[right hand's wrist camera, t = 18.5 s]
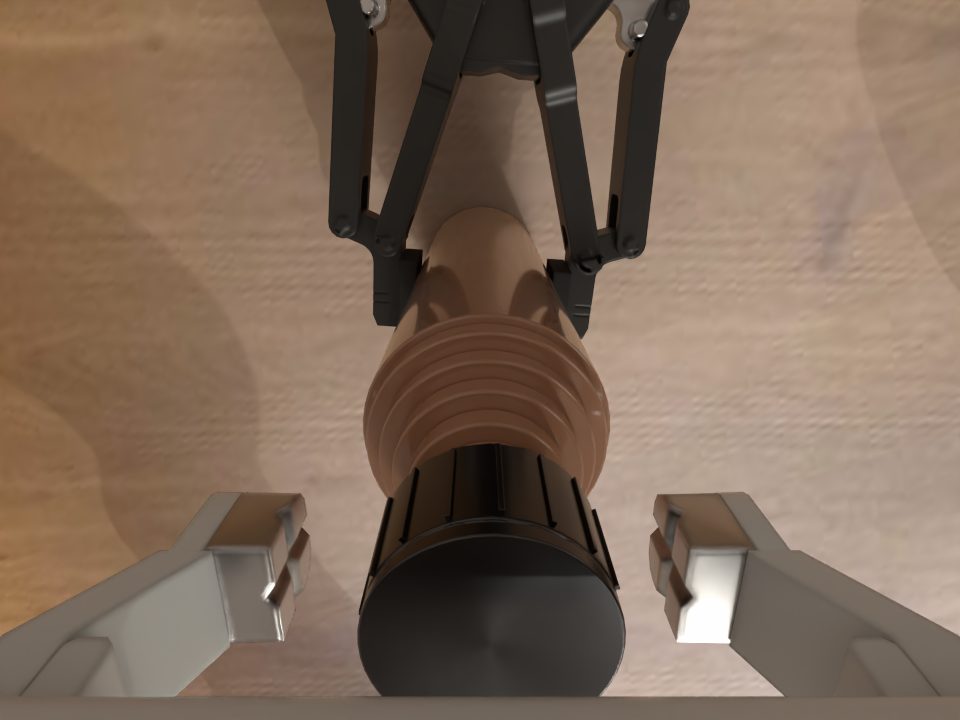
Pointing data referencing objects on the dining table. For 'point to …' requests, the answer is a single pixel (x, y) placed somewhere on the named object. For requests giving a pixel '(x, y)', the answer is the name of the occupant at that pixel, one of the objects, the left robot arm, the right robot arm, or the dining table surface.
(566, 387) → the bottle
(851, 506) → the dining table surface
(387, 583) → the cap
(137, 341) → the dining table surface
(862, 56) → the dining table surface
